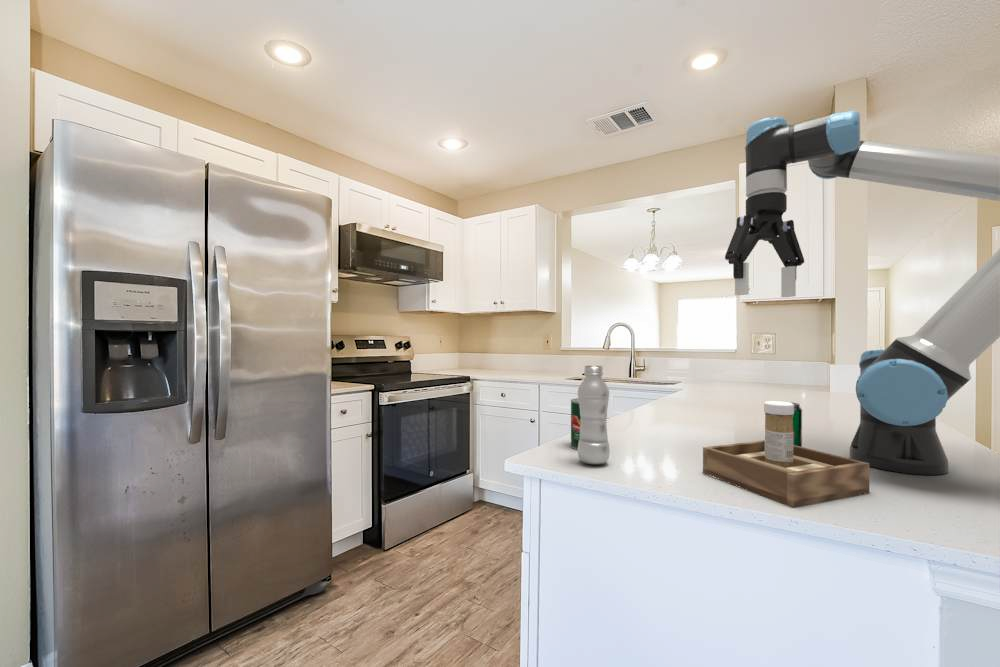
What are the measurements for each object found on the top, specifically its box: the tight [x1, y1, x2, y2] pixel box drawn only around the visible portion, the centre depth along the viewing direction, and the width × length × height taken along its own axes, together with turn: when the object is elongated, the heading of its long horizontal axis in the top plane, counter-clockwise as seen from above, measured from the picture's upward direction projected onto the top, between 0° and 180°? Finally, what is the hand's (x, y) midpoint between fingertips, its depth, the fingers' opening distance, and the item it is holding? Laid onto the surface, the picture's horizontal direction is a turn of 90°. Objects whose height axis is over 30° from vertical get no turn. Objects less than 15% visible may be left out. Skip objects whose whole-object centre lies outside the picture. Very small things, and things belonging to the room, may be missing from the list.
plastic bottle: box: [577, 365, 611, 465], centre depth 93 cm, size 6×7×20 cm
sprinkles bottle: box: [763, 400, 794, 468], centre depth 81 cm, size 5×5×14 cm
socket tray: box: [702, 439, 870, 508], centre depth 81 cm, size 18×18×5 cm
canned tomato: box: [570, 397, 581, 450], centre depth 106 cm, size 8×8×11 cm
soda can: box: [788, 401, 803, 447], centre depth 96 cm, size 5×5×12 cm
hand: (765, 296), depth 96 cm, fingers open, 13 cm apart
